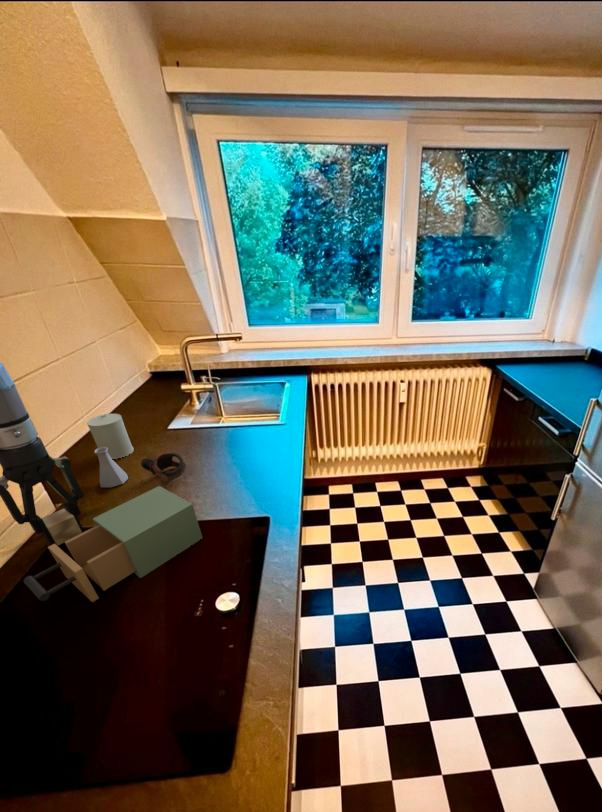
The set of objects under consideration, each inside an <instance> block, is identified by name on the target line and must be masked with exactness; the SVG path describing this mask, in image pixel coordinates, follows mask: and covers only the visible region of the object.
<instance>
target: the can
mask: <svg viewBox="0 0 602 812" xmlns="http://www.w3.org/2000/svg"><path fill="white" fill-rule="evenodd" d="M124 423H125V422H124V420H123V417H122V415H121V414H119V413H104V414H99V415H96V416H93V417H92V418H89V419H88V420H87V421H86V425H87V427H88V429H89V431H90V434H91V436H92V438H93V440H94V442H95V444H96V445H95V446H96V447H97V449H98V448H102V447H107V448H108V454H109V455H110V457H111V458H112V459H116V460H118V459H117V458H121V459H123V458H122V457H124V458H126V457H128V456H130V455H131V454H133V453H134V449H135V448H134V446H133V445H132V442H131V440H130V437H129V434H128V432H127V429H126V426H125V424H124ZM129 454H130V455H129ZM125 456H126V457H125Z"/></svg>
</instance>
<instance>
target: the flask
mask: <svg viewBox="0 0 602 812" xmlns="http://www.w3.org/2000/svg"><path fill="white" fill-rule="evenodd" d="M94 454H95V455H96V456H97V458H98V463H99V486H100V488H114V487H117V486H120V485H123V484H125V482H127V480H129V477H128V474H127V473H126V472H125V471H124V469H123V468H121V467H120V466H119V465H118V464H117V462H115V460H112V458H111V457H110V455H109V454H108V448H107V447H102V448H98V447H97V448H96V449H94Z"/></svg>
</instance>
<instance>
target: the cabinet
mask: <svg viewBox="0 0 602 812" xmlns="http://www.w3.org/2000/svg"><path fill="white" fill-rule="evenodd" d="M92 521H93V523H94V525H95V526H97V525H99V526H100V527H102V528H103V529H104V530H106V531H107V532H108V533H110V534H111V535H112V536H114V537H115V538H116V539H118V540H119V541H120V542H122V543H123V544H124V546H125V548H126V550H127V553H128V555H129V557H130V559H131V561H132V563H133V566H134V568H135V570H136V571H135V572H133V573H132V574H135V575H136V577H139V578H140V579H142V578H144V577H145V576H147V575H148V574H150V573H151V572H153V571H154V570H156V569H157V568H159V567H160V566H162V565H164V564H165V563H166V562H168V561H170V560H172V559H173V558H174V557H176V556H178V555H179V554H181V553H183V551H185V550H187V549H189V548H190V547H191V545H192V546H193V545H195V544H196V543H198V542H199V541H201V540H202V539H204V538H203V534H202V532H201V527H200V525H199V521H198V519H197V514H196V511H195V508H194V506H193V503H191V502H189V501H187V500H185V499H184V498H182V497H180V496H178V495H176V493H173V492H172V491H169V490H167V489H166V488H164V487H162V486H160V485H158V486H156V487H154V488H152V489H150V490H147V491H145V492H144V493H142V494H139V495H138V496H136V497H133V498H132V499H130V500H128V501H125V502H124V503H121V504H120V505H117V506H115V507H113V508H111V509H109V510H107V511H105V512H103V513H101V514H98V515H96V516H95V517H93V518H92ZM200 539H201V540H200ZM177 554H178V555H177Z"/></svg>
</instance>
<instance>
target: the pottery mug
mask: <svg viewBox="0 0 602 812" xmlns="http://www.w3.org/2000/svg"><path fill="white" fill-rule="evenodd" d="M173 457H175V458H177V459H178V460H179V461H176V460H174V459H173ZM140 466H141V468H143V469H144V470H146V471H149V472H150V473H152V475H153V476H156V475H157V476H158V477H160V483H161V484H163V485H168V484H169V482H172V481H174V480H176V479H178V478H179V477H181V476H182V475H183V474H184V472H185V470H186V468H187V467H188V464H186V462H185V461H184V457H182V456H181V454H179V453H176V452H175V451H164V452H161V453H159V454H157V456H155V458H153V457H145V458H142V459H141V461H140ZM168 468H175V469H172V470H168V471H167V470H166V469H168ZM164 470H166V471H165V473H164V472H163V471H164Z"/></svg>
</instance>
